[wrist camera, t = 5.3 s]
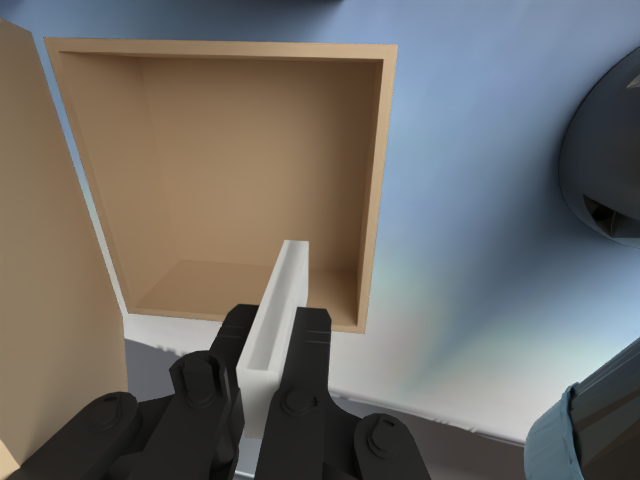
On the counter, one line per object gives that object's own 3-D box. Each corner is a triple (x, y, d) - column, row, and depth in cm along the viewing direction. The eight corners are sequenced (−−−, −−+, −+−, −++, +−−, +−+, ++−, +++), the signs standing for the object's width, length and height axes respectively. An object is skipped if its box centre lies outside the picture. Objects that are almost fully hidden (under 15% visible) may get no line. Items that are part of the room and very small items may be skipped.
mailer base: (384, 53, 23) (398, 44, 15) (362, 273, 31) (364, 333, 24) (135, 47, 24) (43, 37, 17) (178, 260, 32) (128, 313, 25)
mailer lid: (-427, -183, 2) (-729, -242, 2) (147, 652, 11) (115, 675, 10) (30, 31, 16) (7, 30, 16) (122, 317, 25) (108, 321, 24)
